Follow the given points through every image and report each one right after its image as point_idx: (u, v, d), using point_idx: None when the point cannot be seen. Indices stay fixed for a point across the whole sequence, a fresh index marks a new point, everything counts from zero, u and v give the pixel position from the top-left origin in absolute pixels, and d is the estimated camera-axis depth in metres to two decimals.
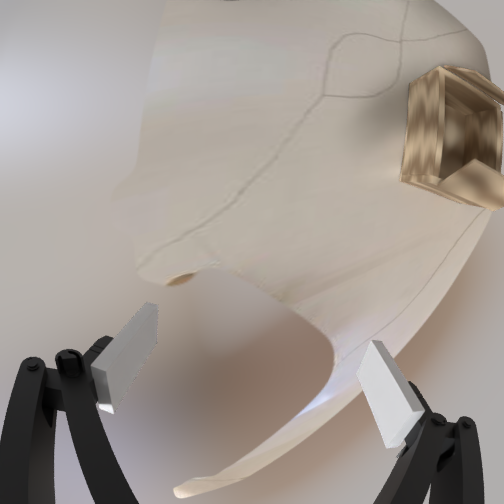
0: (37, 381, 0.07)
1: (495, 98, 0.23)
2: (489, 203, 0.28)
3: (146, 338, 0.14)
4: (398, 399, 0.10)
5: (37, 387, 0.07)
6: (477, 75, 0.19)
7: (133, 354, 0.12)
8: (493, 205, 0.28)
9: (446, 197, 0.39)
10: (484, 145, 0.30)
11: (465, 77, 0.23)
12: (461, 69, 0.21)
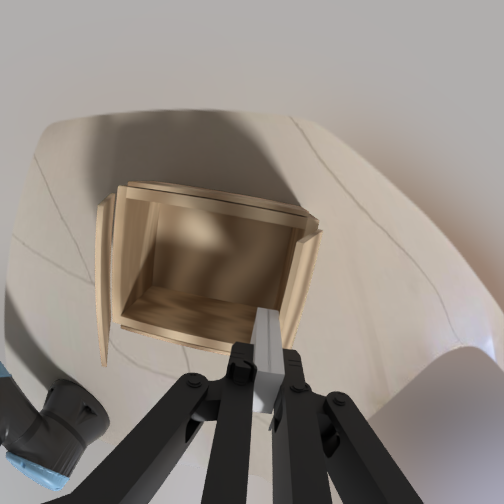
0: (193, 399, 0.09)
1: (111, 224, 0.22)
2: (312, 266, 0.22)
3: None
4: None
5: (191, 405, 0.09)
6: None
7: None
8: (315, 253, 0.21)
9: None
10: None
11: (108, 299, 0.23)
12: None
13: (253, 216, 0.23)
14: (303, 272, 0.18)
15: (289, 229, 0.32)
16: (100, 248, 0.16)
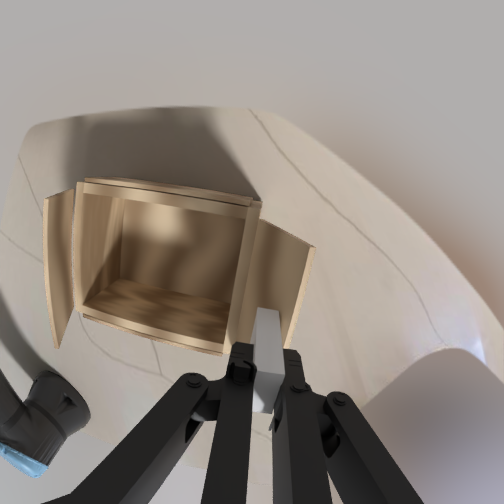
0: (193, 399, 0.09)
1: (68, 217, 0.22)
2: None
3: None
4: None
5: (191, 405, 0.09)
6: (57, 339, 0.18)
7: None
8: None
9: None
10: None
11: (68, 288, 0.23)
12: (63, 329, 0.21)
13: (193, 207, 0.23)
14: None
15: None
16: (47, 237, 0.16)
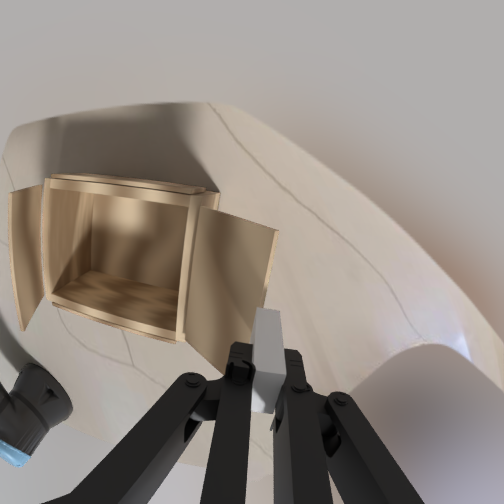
0: (192, 399, 0.09)
1: (36, 210, 0.21)
2: None
3: None
4: None
5: (189, 405, 0.09)
6: (23, 322, 0.18)
7: None
8: None
9: None
10: None
11: (37, 277, 0.23)
12: (31, 314, 0.21)
13: (142, 197, 0.23)
14: None
15: None
16: (11, 227, 0.16)
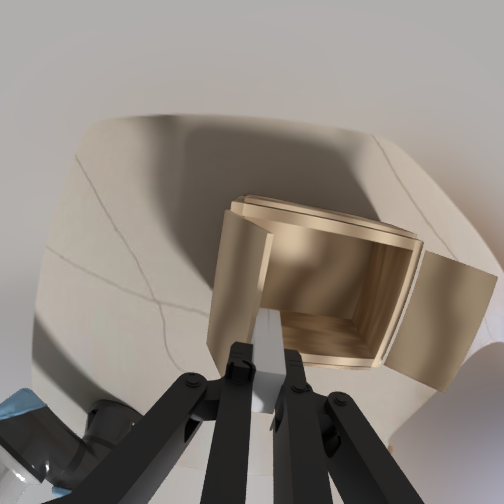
0: (192, 399, 0.09)
1: None
2: None
3: None
4: None
5: (190, 405, 0.09)
6: None
7: None
8: None
9: None
10: None
11: None
12: None
13: (374, 238, 0.23)
14: None
15: (372, 244, 0.32)
16: (262, 281, 0.16)
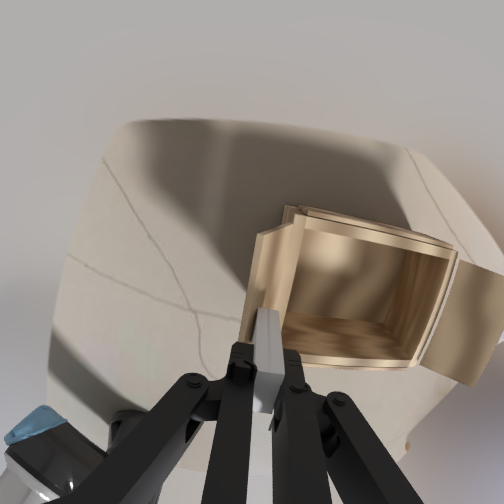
0: (193, 399, 0.09)
1: (283, 257, 0.21)
2: None
3: None
4: None
5: (191, 405, 0.09)
6: None
7: None
8: None
9: None
10: None
11: None
12: None
13: (419, 249, 0.23)
14: None
15: (404, 251, 0.33)
16: (254, 283, 0.16)
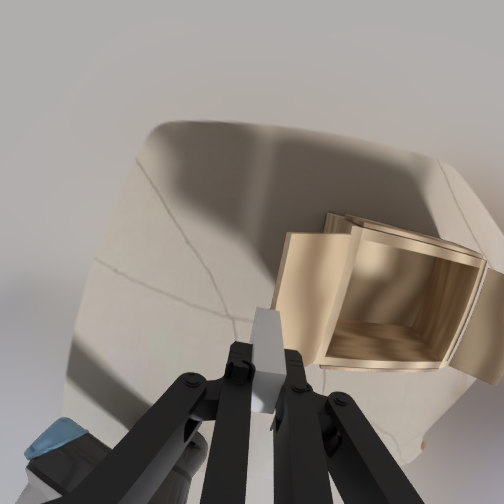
0: (192, 399, 0.09)
1: (335, 265, 0.22)
2: None
3: None
4: None
5: (189, 405, 0.09)
6: None
7: None
8: None
9: None
10: None
11: (311, 341, 0.23)
12: None
13: (455, 259, 0.23)
14: None
15: (434, 258, 0.32)
16: (282, 277, 0.17)
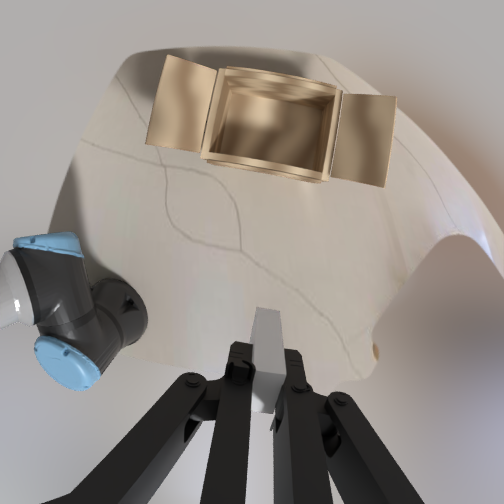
0: (192, 399, 0.09)
1: (204, 82, 0.33)
2: None
3: None
4: None
5: (189, 405, 0.09)
6: (149, 138, 0.31)
7: None
8: None
9: None
10: (270, 88, 0.37)
11: (192, 129, 0.34)
12: (168, 147, 0.33)
13: (305, 85, 0.34)
14: None
15: (320, 117, 0.43)
16: (163, 73, 0.28)
